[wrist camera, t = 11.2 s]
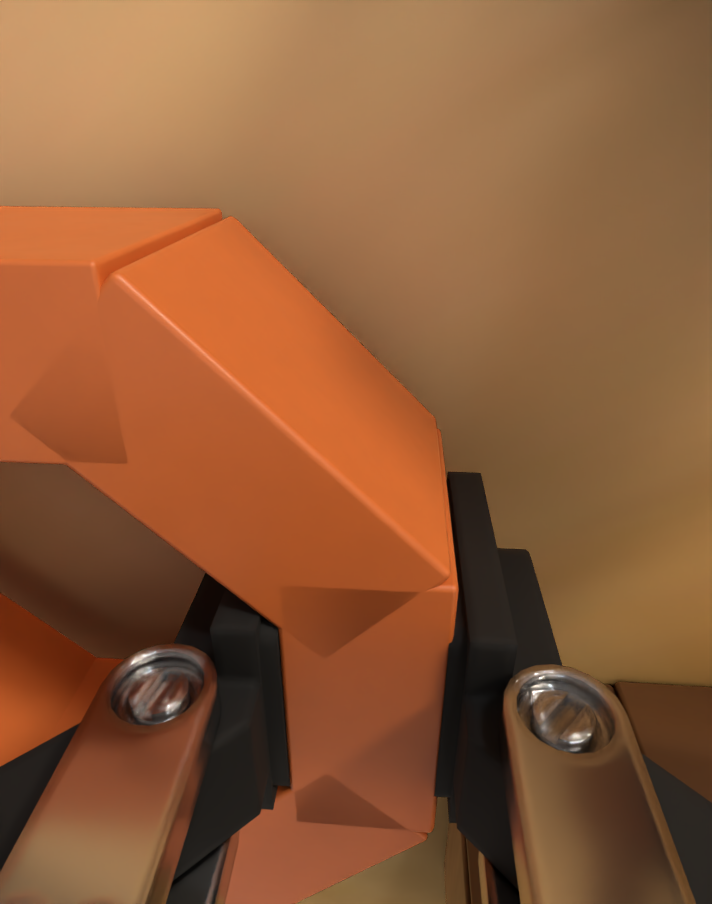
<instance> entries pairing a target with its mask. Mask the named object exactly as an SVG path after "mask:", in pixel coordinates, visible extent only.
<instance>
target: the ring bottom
mask: <svg viewBox="0 0 712 904" xmlns="http://www.w3.org/2000/svg"><path fill="white" fill-rule="evenodd" d="M605 686H606V687H607V688H608V689H609V690H610V691H611V692H612V693H613V694H614V695H615V696H616V697H617V698H618V699H619V701H620V703H621V705H622V707H623V708H624V710H625V712H626V714H627V716H628V718H629V721H630V724H631V727H632V729H633V732H634V735H635V738H636V740H637V743H638V746H639V749H640V751H641V753H642V754H644V755H645V756H646V757H648V758H649V759H651V760H652V761H653V762H655V763H656V764H658V765H659V766H661V767H662V768H663V769H665V770H666V771H668V772H669V773H670V774H672V775H673V776H675V777H676V778H677V779H679V780H680V781H682V782H683V783H685V784H686V785H687V786H689V787H690V788H692V789H693V790H694V791H696V792H697V793H699V794H700V795H702V796H703V797H704V798H706V799H707V800H709V801H710V802H711V803H712V687H701V686H684V685H667V684H651V683H634V682H616V683H615V687H614V688H613V687H612V686H611V685H609V684H607V685H605ZM478 858H479V850H478V849H477V848H476V847H475V846H474V845H473V844H472V843H471V842H470V841H469V840H468V839H467V838H466V837H465V836H464V835H463V834H462V833H461V832H460V831H459V830H458V829H457V824H456V823H449V828H448V837H447V845H446V853H445V862H444V871H445V892H446V904H482V899H481V887H480V876H479V864H478Z"/></svg>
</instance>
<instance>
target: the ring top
mask: <svg viewBox="0 0 712 904" xmlns="http://www.w3.org/2000/svg"><path fill="white" fill-rule="evenodd" d="M0 462H19V463H45V464H65V465H67V466H68V467H69V468H71V469H72V470H73V471H74V472H76V473H77V474H78V475H80V476H81V477H82V478H84V479H85V480H86V481H87V482H89V483H90V484H91V485H93V486H94V487H95V488H97V489H98V490H99V491H100V492H102V493H103V494H104V495H106V496H107V497H108V498H110V499H111V500H112V501H113V502H115V503H116V504H117V505H119V506H120V507H121V508H123V509H124V510H125V511H126V512H128V513H129V514H130V515H132V516H133V517H134V518H136V519H137V520H138V521H139V522H141V523H142V524H143V525H145V526H146V527H147V528H149V529H150V530H151V531H152V532H154V533H155V534H156V535H158V536H159V537H160V538H162V539H163V540H164V541H165V542H167V543H168V544H169V545H171V546H172V547H173V548H175V549H176V550H177V551H178V552H180V553H181V554H182V555H184V556H185V557H186V558H188V559H189V560H190V561H191V562H193V563H194V564H195V565H197V566H198V567H199V568H201V569H202V570H203V571H204V572H206V573H207V574H208V575H210V576H211V577H212V578H214V579H215V580H216V581H217V582H219V583H220V584H221V585H223V586H224V587H225V588H227V589H228V590H229V591H230V592H232V593H233V594H234V595H236V596H237V597H238V598H240V599H241V600H242V601H243V602H245V603H246V604H247V605H249V606H250V607H251V608H252V609H254V610H255V611H256V612H258V613H259V614H260V615H262V616H263V617H264V618H265V619H267V620H268V621H269V622H271V623H272V624H273V625H275V626H276V627H277V628H278V633H279V646H280V658H281V671H282V684H283V697H284V710H285V723H286V736H287V749H288V762H289V774H290V786H278V788H277V793H276V798H275V803H274V808H273V810H267V809H261V813H260V815H258V816H257V817H256V818H254V819H253V820H252V821H250V822H249V823H248V824H247V825H245V826H244V827H243V828H241V829H240V832H239V844H238V848H237V853H236V857H235V862H234V866H233V871H232V875H231V880H230V884H229V889H228V893H227V897H226V902H225V904H295V903H297V902H299V901H301V900H303V899H305V898H307V897H309V896H312V895H314V894H316V893H318V892H320V891H322V890H324V889H326V888H328V887H330V886H332V885H334V884H336V883H339V882H341V881H343V880H345V879H347V878H349V877H351V876H353V875H355V874H357V873H359V872H361V871H363V870H365V869H368V868H370V867H372V866H374V865H376V864H378V863H380V862H382V861H384V860H386V859H388V858H390V857H392V856H395V855H397V854H399V853H401V852H403V851H405V850H407V849H409V848H411V847H413V846H415V845H417V844H419V843H421V842H424V841H425V840H426V839H427V836H428V834H427V833H429V832H432V831H433V829H434V824H435V814H436V805H437V797H436V796H434V793H435V783H436V772H437V762H438V751H439V741H440V731H441V720H442V710H443V700H444V689H445V679H446V669H447V658H448V648H449V643H451V642H452V640H453V637H454V630H455V620H456V610H457V601H458V591H459V588H458V579H457V570H456V561H455V553H454V544H453V535H452V526H451V517H450V508H449V499H448V490H447V481H446V473H445V464H444V455H443V446H442V437H441V432H440V430H439V429H437V425H436V420H435V417H434V416H433V415H432V414H431V413H430V412H429V411H428V410H427V409H426V408H425V407H424V406H423V405H422V404H421V403H420V402H419V401H418V400H417V399H416V398H415V397H414V396H413V395H412V394H411V393H410V392H409V391H408V390H407V389H406V388H405V387H404V386H403V385H402V384H401V383H400V382H399V381H398V380H397V379H396V378H395V377H394V376H393V375H392V374H391V373H390V372H389V371H388V370H387V369H386V368H385V367H384V366H383V365H382V364H381V363H380V362H379V361H378V360H377V359H376V358H375V357H374V356H373V355H372V354H371V353H370V352H369V351H368V350H367V349H366V348H365V347H364V346H363V345H362V344H361V343H360V342H359V341H358V340H357V339H356V338H355V337H354V336H353V335H352V334H351V333H350V332H349V331H348V330H347V329H346V328H345V327H344V326H343V325H342V324H341V323H340V322H339V321H338V320H337V319H336V318H335V317H334V316H333V315H332V314H331V313H330V312H329V311H328V310H327V309H326V308H325V307H324V306H323V305H322V304H321V303H320V302H319V301H318V300H317V299H316V298H315V297H314V296H313V295H312V294H311V293H310V292H309V291H308V290H307V289H306V288H305V287H304V286H303V285H302V284H301V283H300V282H299V281H298V280H297V279H296V278H295V277H294V276H293V275H292V274H291V273H290V272H289V271H288V270H287V269H286V268H285V267H284V266H283V265H282V264H281V263H280V262H279V261H278V260H277V259H276V258H275V257H274V256H273V255H272V254H271V253H270V252H269V251H268V250H267V249H266V248H265V247H264V246H263V245H262V244H261V243H260V242H259V241H258V240H257V239H256V238H255V237H254V236H253V235H252V234H251V233H250V232H249V231H248V230H247V229H246V228H245V227H244V226H243V225H242V224H241V223H240V222H239V221H238V220H237V219H236V218H234V217H232V216H230V217H228V218H225V219H223V220H222V212H221V210H220V209H210V208H115V207H19V206H0ZM123 660H124V659H113V658H97V657H95V656H94V655H92V654H91V653H89V652H88V651H86V650H85V649H83V648H82V647H80V646H79V645H77V644H76V643H74V642H73V641H71V640H70V639H69V638H67V637H66V636H64V635H63V634H61V633H60V632H58V631H57V630H55V629H54V628H52V627H51V626H49V625H48V624H46V623H45V622H43V621H42V620H40V619H39V618H37V617H36V616H34V615H33V614H31V613H30V612H28V611H27V610H26V609H24V608H23V607H21V606H20V605H18V604H17V603H15V602H14V601H12V600H11V599H9V598H8V597H6V596H5V595H3V594H2V593H0V767H1V766H2V765H4V764H6V763H8V762H10V761H11V760H13V759H15V758H17V757H19V756H20V755H22V754H24V753H26V752H28V751H30V750H31V749H33V748H35V747H37V746H39V745H40V744H42V743H44V742H46V741H48V740H50V739H51V738H53V737H55V736H57V735H59V734H60V733H62V732H64V731H66V730H68V729H69V728H71V727H73V726H75V725H77V724H79V723H80V722H81V721H82V719H83V717H84V715H85V713H86V712H87V710H88V708H89V706H90V704H91V702H92V700H93V699H94V697H95V695H96V693H97V691H98V689H99V687H100V685H101V684H102V682H103V681H104V680H105V678H106V677H107V675H108V674H109V673H110V671H111V670H112V669H113V668H114V667H116V666H117V665H118V664H119V663H120V662H122V661H123Z"/></svg>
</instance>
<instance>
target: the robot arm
mask: <svg viewBox="0 0 712 904" xmlns="http://www.w3.org/2000/svg"><path fill="white" fill-rule="evenodd" d="M446 481H447V490H448V499H449V508H450V517H451V526H452V535H453V544H454V553H455V561H456V570H457V579H458V588H459V591H458V601H457V610H456V620H455V630H454V637H453V640H452V642H451V643H449V648H448V658H447V669H446V679H445V689H444V700H443V710H442V720H441V731H440V741H439V751H438V762H437V772H436V783H435V793H434V796H436V797H448V813H449V823H456V824H457V829H458V830H459V831H460V832H461V833H462V834H463V835H464V836H465V837H466V838H467V839H468V840H469V841H470V842H471V843H472V844H473V845H474V846H475V847H476V848H477V849H478V850H479V858H478V864H479V876H480V887H481V899H482V904H712V803H711V802H710V801H709V800H707V799H706V798H704V797H703V796H702V795H700V794H699V793H697V792H696V791H694V790H693V789H692V788H690V787H689V786H687V785H686V784H685V783H683V782H682V781H680V780H679V779H677V778H676V777H675V776H673V775H672V774H670V773H669V772H668V771H666V770H665V769H663V768H662V767H661V766H659V765H658V764H656V763H655V762H653V761H652V760H651V759H649V758H648V757H646V756H645V755H644V754H642V753H641V751H640V749H639V746H638V743H637V740H636V738H635V735H634V732H633V729H632V727H631V724H630V721H629V718H628V716H627V714H626V712H625V710H624V708H623V707H622V705H621V703H620V701H619V699H618V698H617V697H616V696H615V695H614V694H613V693H612V692H611V691H610V690H609V689H608V688H607V687H606V686H605V685H604V684H602V683H601V682H599V681H598V680H596V679H595V678H593V677H592V676H590V675H588V674H586V673H583V672H581V671H578V670H576V669H573V668H571V667H565V666H562V663H561V660H560V656H559V653H558V649H557V646H556V642H555V639H554V636H553V632H552V629H551V625H550V622H549V618H548V615H547V612H546V608H545V605H544V601H543V598H542V594H541V591H540V587H539V584H538V581H537V577H536V574H535V570H534V567H533V563H532V560H531V557H530V554H529V552H528V551H527V550H524V549H501V548H497V546H496V541H495V537H494V532H493V527H492V523H491V518H490V514H489V509H488V504H487V500H486V495H485V490H484V486H483V481H482V477H481V473H467V472H448V475H447V480H446ZM278 786H290V774H289V762H288V749H287V736H286V723H285V710H284V697H283V684H282V671H281V658H280V646H279V633H278V628H277V627H276V626H275V625H273V624H272V623H271V622H269V621H268V620H267V619H265V618H264V617H263V616H262V615H260V614H259V613H258V612H256V611H255V610H254V609H252V608H251V607H250V606H249V605H247V604H246V603H245V602H243V601H242V600H241V599H240V598H238V597H237V596H236V595H234V594H233V593H232V592H230V591H229V590H228V589H227V588H225V587H224V586H223V585H221V584H220V583H219V582H217V581H216V580H215V579H214V578H212V577H211V576H210V575H208V574H207V573H205V576H204V578H203V580H202V582H201V585H200V587H199V589H198V591H197V593H196V596H195V598H194V600H193V602H192V604H191V607H190V609H189V611H188V613H187V615H186V618H185V620H184V622H183V624H182V626H181V629H180V631H179V633H178V635H177V637H176V640H175V642H174V644H160V645H156V646H153V647H149V648H146V649H142V650H140V651H138V652H137V653H135V654H133V655H131V656H129V657H127V658H125V659H124V660H123V661H122V662H120V663H119V664H118V665H117V666H116V667H114V668H113V669H112V670H111V671H110V673H109V674H108V675H107V677H106V678H105V680H104V681H103V682H102V684H101V685H100V687H99V689H98V691H97V693H96V695H95V697H94V699H93V700H92V702H91V704H90V706H89V708H88V710H87V712H86V713H85V715H84V717H83V719H82V721H81V722H80V723H79V724H77V725H75V726H73V727H71V728H69V729H68V730H66V731H64V732H62V733H60V734H59V735H57V736H55V737H53V738H51V739H50V740H48V741H46V742H44V743H42V744H40V745H39V746H37V747H35V748H33V749H31V750H30V751H28V752H26V753H24V754H22V755H20V756H19V757H17V758H15V759H13V760H11V761H10V762H8V763H6V764H4V765H2V766H1V767H0V904H225V902H226V897H227V893H228V889H229V884H230V880H231V875H232V871H233V866H234V862H235V857H236V853H237V848H238V844H239V832H240V829H241V828H243V827H244V826H245V825H247V824H248V823H249V822H250V821H252V820H253V819H254V818H256V817H257V816H258V815H260V813H261V809H267V810H273V808H274V803H275V798H276V793H277V788H278Z"/></svg>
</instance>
